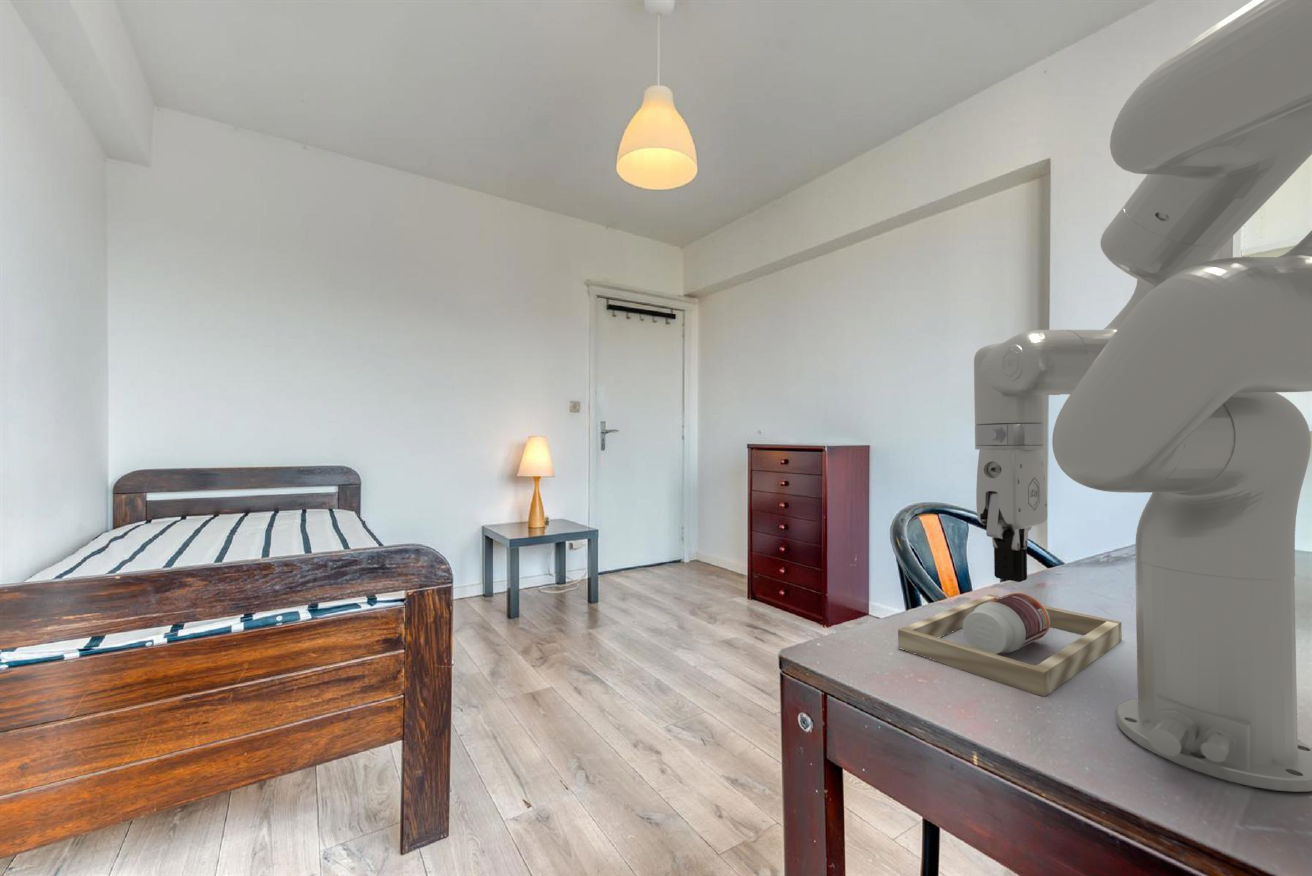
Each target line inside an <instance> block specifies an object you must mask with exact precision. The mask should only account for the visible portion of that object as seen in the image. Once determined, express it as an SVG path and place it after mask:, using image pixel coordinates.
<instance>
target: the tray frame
mask: <svg viewBox="0 0 1312 876" xmlns="http://www.w3.org/2000/svg"><path fill="white" fill-rule="evenodd" d="M999 597H1001V596H999V595H995V594H986V595H984V596H982V597H978V598H977V599H974V600H971V601H969V602H966V603H963V604H961V605H959V606H955V607H953V608H951V609H947V610H945V611H942V612H939V613H937V614H935V615H932V616H928V617H927V618H924V619H922V620H919V621H916V622H914V623H911V624H909V625H905V626H904V627H901V628H898V629H897V639H898V640H897V644H898V645H897V647H899V648H902V649H904V650H907V651H909V652H912V653H916V654H918V655H922V656H925V657H927V658H926V659H928V658H931V659H934V660H935V661H934V660H933V661H934V662H937V661H939V662H938V663H940V662H941V663H940V664H943V663H945V664H944V665H946V664H947V665H946V666H949V667H952V666H953V667H952V668H955V669H958V670H961V671H965V672H967V673H970V674H974V675H977V676H979V677H983V678H986V679H989V680H992V681H994V682H999V683H1000V684H1005V685H1007V686H1010V687H1013V688H1016V689H1020V690H1023V691H1026V692H1029V693H1032V694H1035V695H1038V696H1041V697H1044V698H1045V697H1046V696H1048V695H1050V694H1051V693H1052V692H1054V691H1055V690H1056V689H1057V688H1059V687H1060V686H1062V685H1063V684H1065V683H1066V682H1067V681H1069V680H1070V679H1072V678H1073V677H1074V676H1076V675H1077V674H1079V673H1080V672H1081V671H1083V670H1084V669H1085V668H1086V667H1088V666H1090V665H1091V664H1092V663H1094V662H1095V661H1096V660H1097V659H1099V658H1100V657H1102V656H1103V655H1105V654H1106V653H1107V652H1109V651H1110V650H1111V649H1113V648H1115V646H1117V645H1118V644H1119V643H1121V642H1122V641H1123V639H1122V636H1123V635H1122V632H1123V631H1122V628H1123V626H1122V621H1119V620H1114V619H1109V618H1105V617H1099V616H1095V615H1090V614H1085V613H1079V612H1075V611H1071V610H1067V609H1066V610H1065V609H1061V608H1057V607H1053V606H1046V605H1043V606H1044V607H1045V609H1046V610H1047V612H1048V615H1049V618H1050V627H1049V628H1055V629H1057V630H1063V631H1067V632H1071V633H1075V634H1079V635H1083V636H1081V637H1080V638H1078V639H1076V640H1075V641H1073V642H1072V643H1070V644H1068V645H1067V646H1065V647H1063V648H1061V650H1059V651H1057V652H1056V653H1054V654H1052V655H1050V656H1049V657H1048V658H1046V659H1045V660H1042V661H1041V662H1040V663H1038V664H1037V665H1034V664H1029V663H1027V662H1024V661H1019V660H1016V659H1013V658H1010V657H1006V656H1002V655H999V654H993V653H989V652H986V651H982V650H979V649H976V648H973V647H972V646H967V645H965V644H962V643H957V642H955V641H951V640H948V639H944V638H942V637H940V636H943V635H945V634H947V635H949V634H948V633H950V634H952V633H953V632H952V631H954V632H956V631H959V630H961V629H963V622H964V619H965V618H966V616H968V615H969V614H970V613H972V612H973V611H974V610H975V609H976V608H977V607H978V606H979V605H981V604H983V603H986V602H988V601H991V600H994V599H997V598H999ZM960 628H961V629H960ZM958 629H959V630H958ZM951 632H952V633H951ZM945 636H946V635H945ZM938 637H940V638H938ZM943 637H944V636H943ZM909 652H908V653H909ZM912 653H911V654H912ZM918 655H917V656H918ZM925 657H924V658H925ZM931 659H930V660H931Z"/></svg>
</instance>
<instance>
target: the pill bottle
mask: <svg viewBox="0 0 1312 876" xmlns="http://www.w3.org/2000/svg"><path fill="white" fill-rule="evenodd" d="M1044 606H1045V605H1043V604H1042V603H1041V602H1040V601H1039V600H1038V599H1037V598H1035V597H1034V596H1032V595H1029V594H1026V593H1023V592H1012V593H1009V594H1008V593H1007V594H1005V595H1003V596H1000V597H999V598H997V599H994V600H991V601H988V602H986V603H983V604H981V605H979V606H978V607H977V608H976V609H975V610H974V611H973V612H972V613H970V614H969V615H968V616H966V618H965V619H964V622H963V628H962V632H963V636H964V638H965V639H966V641H967V642H968V645H970V647H972V648H976V649H979V650H982V651H986V652H989V653H993V654H996V655H999V654H1001V653H1002V654H1008V653H1013V652H1015V651H1018V650H1020V649H1022V648H1024V647H1026V646H1028V645H1029V644H1032V643H1034V642H1036V641H1038V640H1040V639H1041V638H1044V637H1045V635H1046V634H1047V633H1048V632H1049V629H1050V628H1051V627H1050V618H1049V615H1048V612H1047V610H1046V609H1045V607H1044Z"/></svg>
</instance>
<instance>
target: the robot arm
mask: <svg viewBox="0 0 1312 876" xmlns="http://www.w3.org/2000/svg"><path fill="white" fill-rule="evenodd" d="M1109 141H1110V142H1109V148H1110V154H1111V157H1112V159H1113V161H1114V163H1115V165H1117V166H1118V167H1119V168H1120V169H1122V170H1123V171H1126V172H1130V173H1133V174H1138V175H1146V176H1145V177H1144V178H1143V180H1142V181H1141V182H1140V183H1139V185H1138V187H1136V189H1135V191H1133V193H1132V195H1130V197H1129V199H1127V201H1126V202H1125V204H1124V205H1123V206H1122V207H1121V208H1120V210H1119V212H1118V213H1117V214H1116V215H1115V217H1114V218H1113V219H1112V220H1111V222H1110V223H1109V224H1108V226H1107V227H1106V228H1105V230H1104V231H1103V233H1102V235H1101V238H1100V248H1101V251H1102V253H1103V254H1104V256H1105V257H1106V258H1107V259H1108V260H1109V261H1110V262H1111V264H1113V265H1114V266H1115V267H1117V268H1118V269H1119V270H1121V271H1122V272H1124V273H1126V274H1127V275H1129V276H1131V277H1133V278H1135V279H1136V287H1135V289H1134V292H1133V294H1132V296H1131V297H1130V299H1129V300H1128V302H1127V303H1126V305H1125V306H1124V307H1123V308H1122V309H1121V310H1120V312H1119V313H1118V314H1117V315H1116V316H1115V317H1114V318H1113V319H1112V320H1111V321H1110V323H1108V324H1107V325H1106V327H1104V329H1036V330H1035V329H1034V330H1028V331H1025V332H1024V331H1023V332H1022V333H1021V332H1020V333H1018V334H1016V335H1014V336H1012V337H1011V338H1009V339H1007V340H1006V341H1003V342H1001V343H994V344H990V345H989V344H988V345H986V346H983V347H980V348H979V349H978V350H977V351H976V353H975V355H974V356H973V385H974V386H973V387H974V389H973V391H974V393H973V394H974V450H978V451H979V452H978V458H977V459H978V460H977V461H978V462H977V468H976V471H977V472H976V497H975V500H976V501H975V502H976V503H975V504H976V506H975V507H976V515H977V516H976V517H977V520H978V522H979V523H980V524H981V525H983V526H986V532H985V533H986V536H987V537H989V538H991V540H992V547H993V555H994V556H993V557H994V558H993V561H994V562H993V564H994V566H993V567H994V568H993V570H994V577H995V578H996V579H1001V580H1006V581H1012V582H1016V583H1017V582H1018V583H1021V582H1023V581H1026V580H1027V579H1028V554H1027V553H1028V550H1027V548H1028V544H1029V531H1031V530H1032V528H1033V527H1035V526H1039V525H1042V524H1043V523H1045V522H1046V521H1047V519H1048V502H1047V488H1046V487H1047V486H1046V477H1045V466H1044V461H1043V456H1042V451H1041V450H1045V425H1044V422H1045V421H1044V419H1045V418H1044V396H1060V395H1069V396H1068V397H1067V398H1066V400H1065V401H1064V403H1063V406H1062V407H1061V409H1060V411H1059V413H1058V415H1057V416H1056V420H1055V423H1054V427H1053V430H1052V431H1053V432H1052V439H1051V440H1052V441H1051V442H1052V445H1051V446H1052V451H1053V456H1054V458H1055V460H1056V462H1057V465H1058V466H1059V469H1061V470H1062V472H1063V473H1064V474H1065V475H1066V476H1067V477H1068V478H1070V479H1072V480H1073V481H1074V482H1075V483H1077V484H1079V485H1082V486H1084V487H1087V488H1089V489H1093V490H1097V491H1101V492H1108V493H1133V494H1135V493H1136V494H1137V493H1151V495H1150V497H1149V499H1148V500H1147V503H1146V504H1145V506H1144V508H1143V510H1142V512H1141V515H1140V517H1139V520H1138V524H1137V526H1136V527H1137V528H1136V533H1135V550H1134V551H1135V557H1134V559H1135V560H1134V563H1135V569H1134V570H1135V612H1136V613H1135V616H1136V617H1135V619H1136V620H1135V621H1136V623H1135V625H1136V626H1135V627H1136V628H1135V629H1136V676H1137V677H1136V678H1137V679H1136V680H1137V681H1136V682H1137V699H1135V698H1134V699H1130V700H1126V701H1124V702H1121V703H1119V705H1118V706H1117V707H1116V709H1115V719H1116V724H1117V725H1118V727H1119V728H1120V730H1121V731H1122V732H1123V733H1124V734H1125V735H1126V736H1128V737H1129V739H1131V740H1132V741H1134V742H1135V743H1136V744H1138V745H1140V747H1143V748H1144V749H1147V750H1148V751H1150V752H1151V753H1153V754H1155V755H1158V756H1160V757H1162V758H1163V759H1165V760H1168V761H1170V762H1173V763H1175V764H1176V765H1180V766H1183V767H1185V768H1186V769H1187V768H1188V769H1190V770H1193V771H1196V772H1198V773H1202V774H1204V775H1208V776H1210V777H1213V778H1217V779H1220V780H1225V781H1227V782H1231V783H1236V784H1239V785H1244V786H1249V787H1253V788H1257V789H1264V790H1270V791H1277V792H1278V791H1279V792H1291V793H1293V792H1294V793H1299V792H1312V747H1310V745H1308V744H1306V743H1305V742H1302V740H1299V739H1298V737H1299V735H1298V734H1299V733H1298V698H1297V697H1298V696H1297V695H1298V692H1297V689H1298V688H1297V645H1296V643H1297V642H1296V638H1297V637H1296V602H1295V601H1296V599H1295V598H1296V595H1295V594H1296V593H1295V590H1296V588H1295V587H1296V586H1295V577H1296V553H1295V551H1296V545H1295V543H1296V523H1297V522H1296V521H1297V513H1298V507H1299V500H1300V497H1301V493H1302V492H1301V491H1302V487H1303V484H1304V480H1305V476H1306V472H1307V469H1308V466H1309V461H1310V456H1311V451H1312V450H1311V449H1312V447H1311V446H1312V440H1311V431H1310V428H1309V424H1308V422H1307V419H1306V418H1305V417H1304V415H1303V413H1302V412H1301V410H1300V409H1299V408H1298V407H1297V406H1296V405H1295V404H1294V403H1293V402H1292V401H1291V400H1289V399H1288V398H1286V397H1285V396H1283V395H1281V394H1279V393H1304V392H1305V393H1308V392H1312V229H1310V231H1309V233H1307V234H1306V236H1305V237H1304V238H1303V239H1301V240H1300V241H1299V242H1298V243H1297V244H1296V245H1295V246H1293V247H1292V248H1291V249H1289V251H1287V252H1286V253H1284V254H1282V255H1279V256H1270V257H1269V256H1238V257H1237V256H1236V257H1227V258H1219V259H1213V257H1215V255H1217V254H1218V252H1220V251H1221V249H1222V248H1223V247H1224V246H1225V245H1226V244H1227V243H1228V242H1229V240H1231V238H1233V237H1234V236H1235V234H1236V233H1237V232H1238V231H1239V230H1241V228H1242V227H1243V226H1244V225H1245V224H1246V223H1247V222H1248V221H1249V220H1250V219H1251V218H1252V217H1253V216H1254V215H1255V214H1256V213H1257V211H1259V210H1260V209H1261V208H1262V206H1264V204H1265V203H1266V202H1267V201H1268V200H1269V199H1270V198H1271V197H1272V196H1273V195H1274V194H1276V192H1277V191H1278V190H1279V189H1280V188H1281V187H1282V186H1283V185H1284V184H1285V183H1286V182H1287V181H1288V180H1289V178H1290V177H1292V175H1293V174H1294V173H1295V172H1297V170H1298V169H1299V168H1300V167H1301V166H1302V165H1303V164H1304V163H1305V162H1306V161H1307V160H1308V159H1309V158H1310V157H1311V155H1312V0H1251V1H1249V2H1248V3H1247V4H1244V5H1243V6H1241V7H1240V8H1238V9H1237V10H1236V11H1234V12H1233V13H1230V15H1228V16H1226V17H1225V18H1223V19H1221V20H1220V21H1219V22H1217V23H1216V24H1214V25H1213V26H1211V27H1210V28H1208V29H1207V30H1205V31H1204V32H1202V33H1201V34H1200V35H1198V36H1196V37H1195V38H1193V39H1192V40H1190V41H1189V42H1188V43H1187V44H1185V45H1184V46H1182V47H1181V48H1180V49H1178V50H1177V51H1176V52H1174V53H1173V54H1172V55H1171V56H1169V57H1167V59H1165V60H1164V61H1162V63H1161V64H1160V65H1159V66H1158V67H1156V68H1155V69H1154V70H1153V71H1152V72H1151V73H1149V74H1148V76H1147V77H1145V79H1143V81H1142V82H1141V83H1140V84H1139V85H1137V87H1136V88H1135V90H1133V92H1132V93H1131V95H1130V96H1129V97H1128V98H1127V100H1126V101H1125V103H1124V104H1123V106H1122V107H1121V109H1120V111H1119V113H1118V115H1117V117H1116V119H1115V121H1114V124H1113V127H1112V130H1111V134H1110V140H1109Z"/></svg>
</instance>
